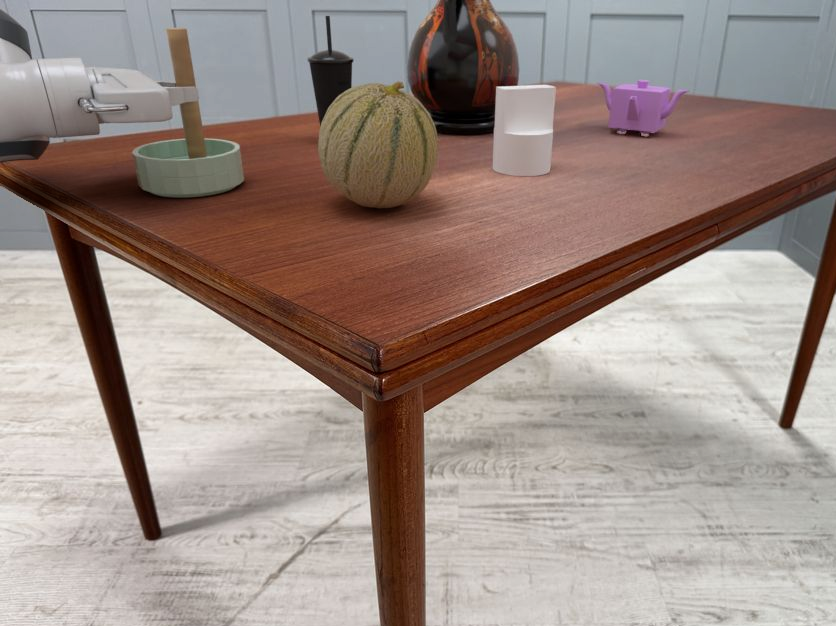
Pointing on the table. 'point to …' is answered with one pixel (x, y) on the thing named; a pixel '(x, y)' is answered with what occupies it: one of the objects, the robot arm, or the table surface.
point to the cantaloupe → (378, 145)
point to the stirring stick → (186, 78)
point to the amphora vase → (462, 65)
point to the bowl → (188, 168)
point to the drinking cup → (329, 74)
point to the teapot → (639, 106)
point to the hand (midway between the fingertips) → (193, 91)
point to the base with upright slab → (523, 130)
